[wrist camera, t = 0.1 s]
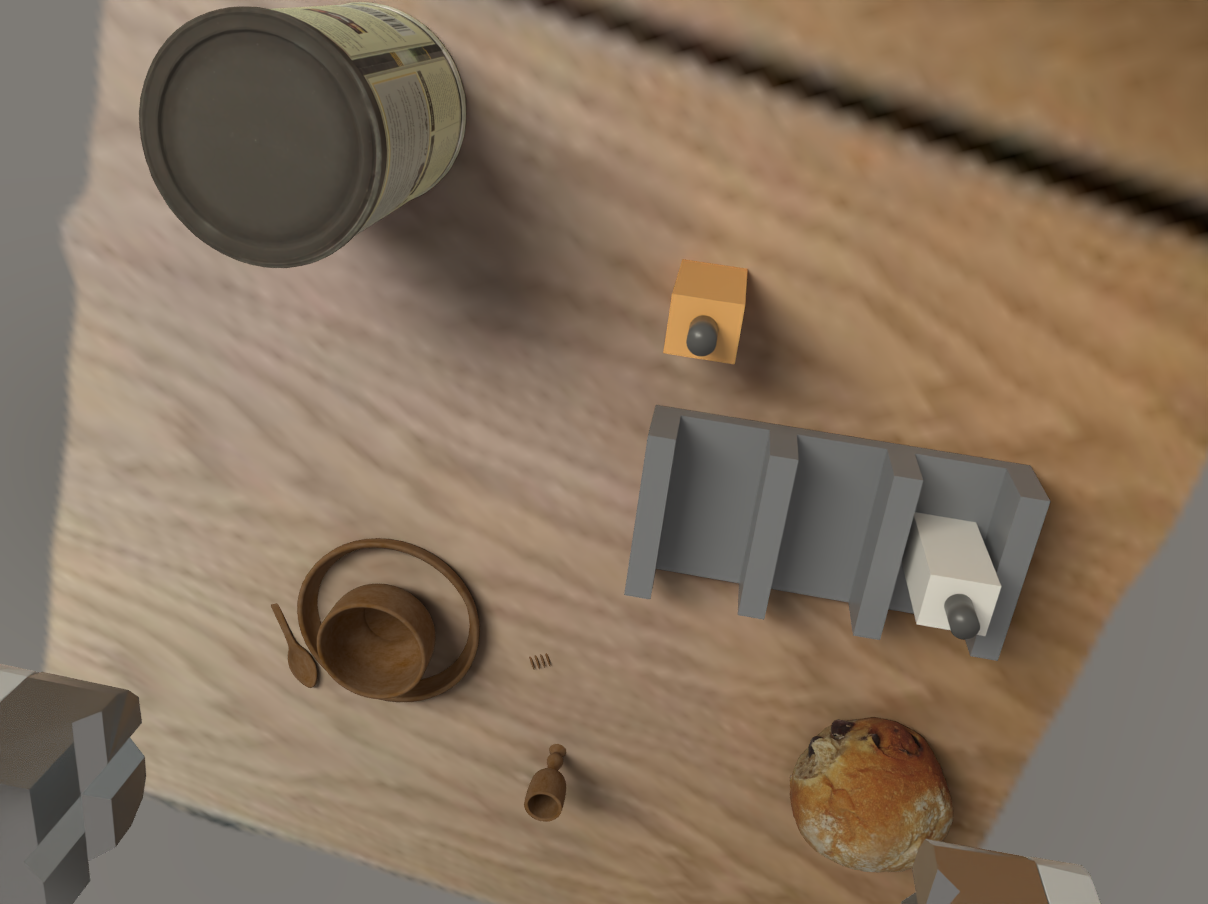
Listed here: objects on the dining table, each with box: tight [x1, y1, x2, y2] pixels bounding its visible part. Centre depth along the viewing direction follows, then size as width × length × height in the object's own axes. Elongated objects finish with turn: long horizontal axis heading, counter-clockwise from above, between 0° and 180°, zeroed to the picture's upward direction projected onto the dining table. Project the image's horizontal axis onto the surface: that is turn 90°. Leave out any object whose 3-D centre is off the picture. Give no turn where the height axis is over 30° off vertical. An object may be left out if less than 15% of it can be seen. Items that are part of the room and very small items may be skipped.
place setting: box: [271, 538, 566, 821], centre depth 68 cm, size 18×20×6 cm
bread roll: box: [790, 717, 953, 872], centre depth 67 cm, size 10×10×8 cm
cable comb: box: [624, 405, 1050, 661], centre depth 59 cm, size 10×21×4 cm, turn 83°
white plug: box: [902, 512, 1001, 639], centre depth 56 cm, size 3×4×9 cm
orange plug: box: [663, 259, 747, 364], centre depth 53 cm, size 3×4×9 cm
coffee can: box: [139, 2, 466, 268], centre depth 49 cm, size 10×10×14 cm
